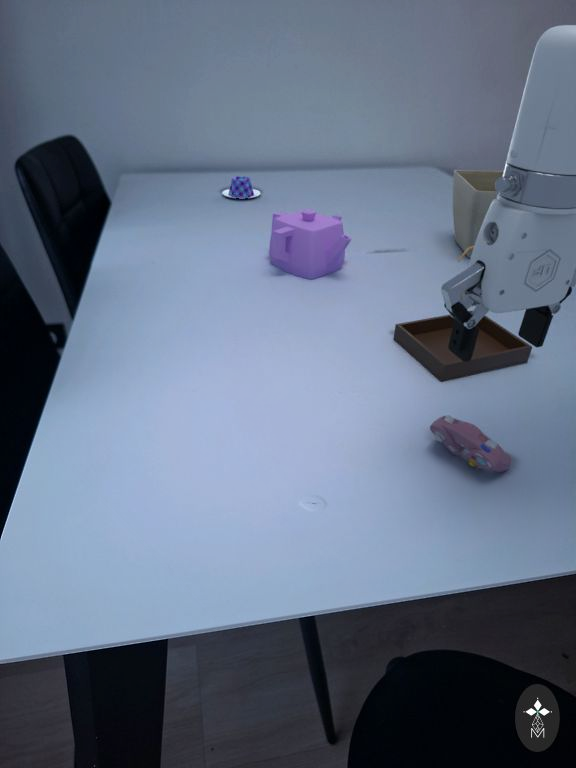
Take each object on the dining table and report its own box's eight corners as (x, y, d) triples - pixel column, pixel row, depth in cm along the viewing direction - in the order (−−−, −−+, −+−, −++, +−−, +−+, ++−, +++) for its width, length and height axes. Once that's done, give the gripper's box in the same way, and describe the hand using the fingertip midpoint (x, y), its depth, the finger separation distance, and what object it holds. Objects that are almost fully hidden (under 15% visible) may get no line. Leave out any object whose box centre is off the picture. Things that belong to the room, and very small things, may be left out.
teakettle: (269, 251, 127) (269, 198, 120) (340, 252, 128) (344, 200, 121) (268, 280, 113) (269, 222, 106) (348, 281, 114) (353, 224, 107)
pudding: (220, 190, 171) (220, 173, 168) (257, 190, 173) (257, 173, 170) (223, 201, 161) (223, 183, 158) (263, 200, 163) (263, 182, 160)
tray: (473, 324, 99) (476, 309, 97) (527, 362, 88) (532, 346, 86) (393, 339, 93) (395, 323, 92) (440, 381, 83) (444, 365, 81)
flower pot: (540, 266, 124) (563, 192, 114) (459, 264, 123) (476, 190, 114) (511, 239, 140) (530, 171, 130) (439, 237, 139) (452, 169, 130)
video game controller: (428, 449, 72) (422, 421, 66) (450, 425, 73) (445, 396, 67) (493, 491, 65) (491, 464, 60) (515, 464, 66) (515, 436, 61)
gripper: (495, 205, 43) (450, 380, 53) (645, 192, 49) (580, 352, 58) (440, 182, 49) (409, 344, 58) (581, 173, 54) (531, 322, 64)
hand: (495, 348), depth 58 cm, fingers open, 9 cm apart
